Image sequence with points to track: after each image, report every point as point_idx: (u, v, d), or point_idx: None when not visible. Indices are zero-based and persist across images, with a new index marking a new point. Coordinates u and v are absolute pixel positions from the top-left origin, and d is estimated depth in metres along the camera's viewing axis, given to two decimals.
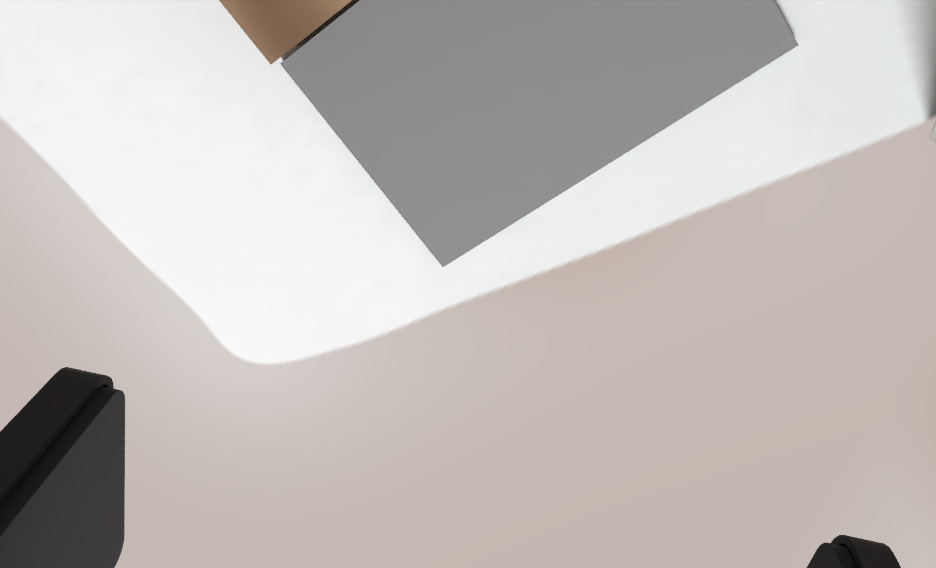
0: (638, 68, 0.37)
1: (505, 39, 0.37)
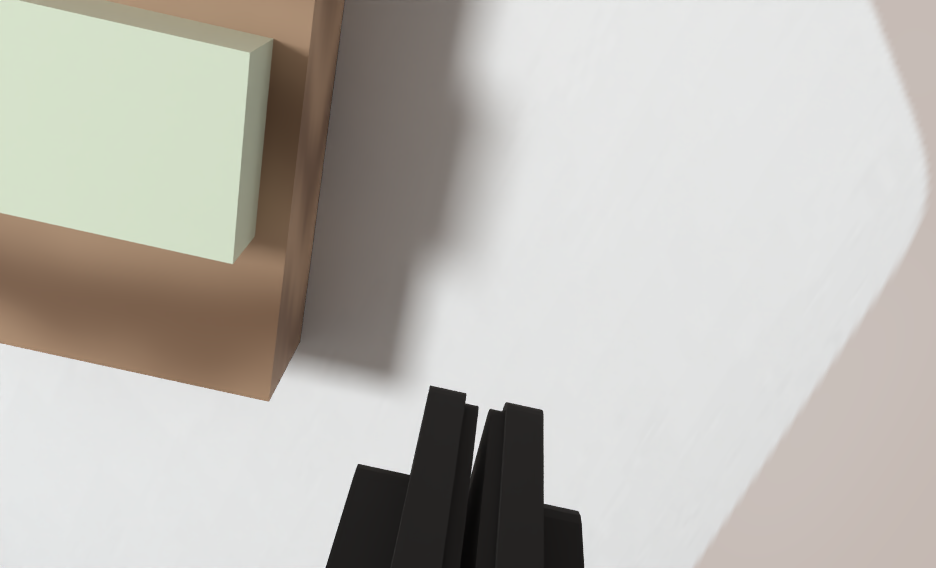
0: None
1: None
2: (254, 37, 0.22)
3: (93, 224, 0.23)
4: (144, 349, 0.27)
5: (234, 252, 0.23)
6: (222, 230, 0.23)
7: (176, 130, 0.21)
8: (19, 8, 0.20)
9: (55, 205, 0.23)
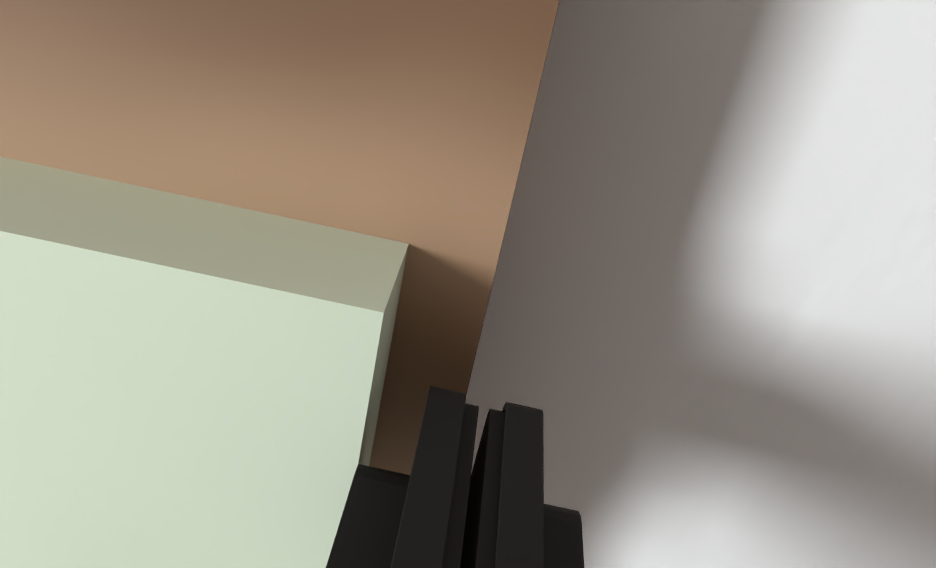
0: None
1: None
2: (375, 247, 0.11)
3: None
4: None
5: None
6: None
7: (227, 438, 0.11)
8: None
9: (1, 546, 0.12)
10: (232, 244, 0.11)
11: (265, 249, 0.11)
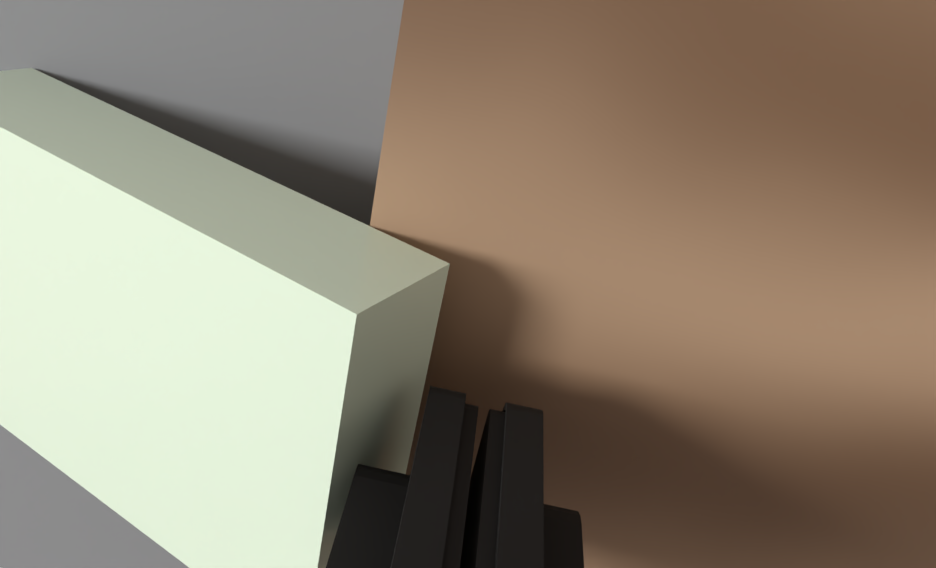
0: None
1: None
2: (410, 259, 0.11)
3: (123, 506, 0.14)
4: None
5: None
6: None
7: (232, 410, 0.11)
8: (38, 159, 0.12)
9: (82, 460, 0.14)
10: (272, 225, 0.11)
11: (298, 236, 0.11)
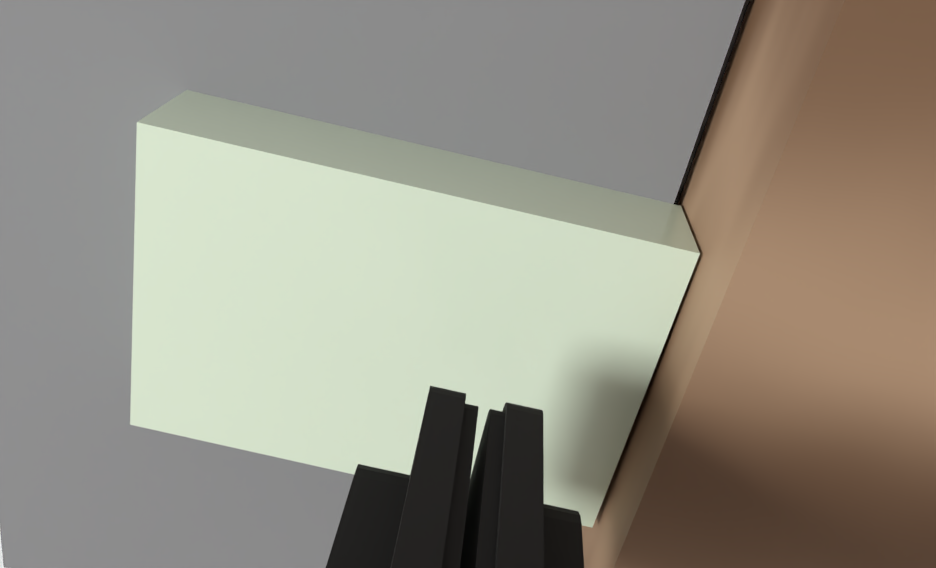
0: (129, 393, 0.18)
1: None
2: (660, 207, 0.14)
3: None
4: None
5: (596, 511, 0.16)
6: (588, 486, 0.15)
7: (550, 354, 0.14)
8: (335, 180, 0.13)
9: (338, 445, 0.15)
10: (565, 201, 0.14)
11: (589, 206, 0.14)
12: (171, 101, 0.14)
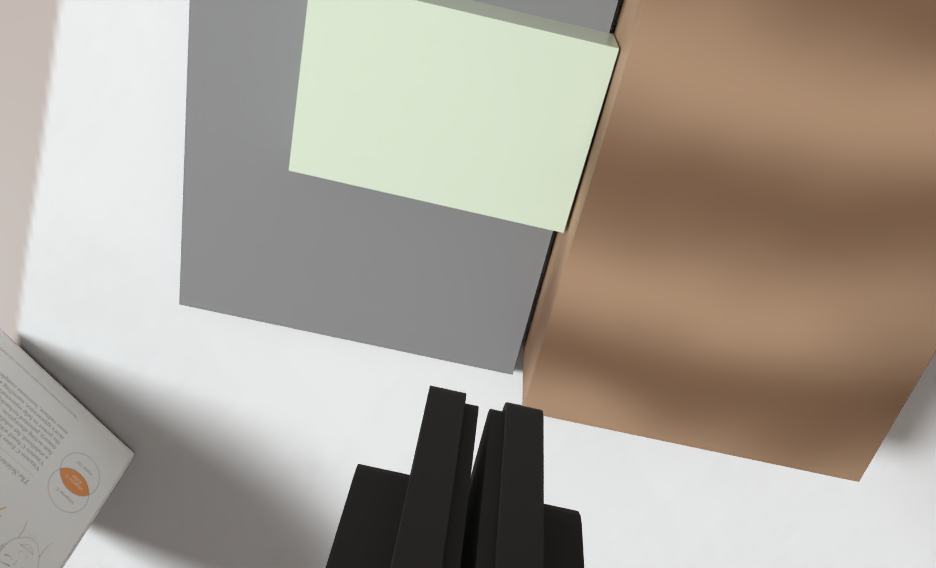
0: (275, 169, 0.28)
1: None
2: (600, 33, 0.25)
3: (444, 197, 0.26)
4: (749, 434, 0.28)
5: (565, 222, 0.26)
6: (560, 203, 0.26)
7: (537, 115, 0.24)
8: (418, 8, 0.23)
9: (412, 180, 0.26)
10: (545, 25, 0.24)
11: (559, 27, 0.24)
12: None
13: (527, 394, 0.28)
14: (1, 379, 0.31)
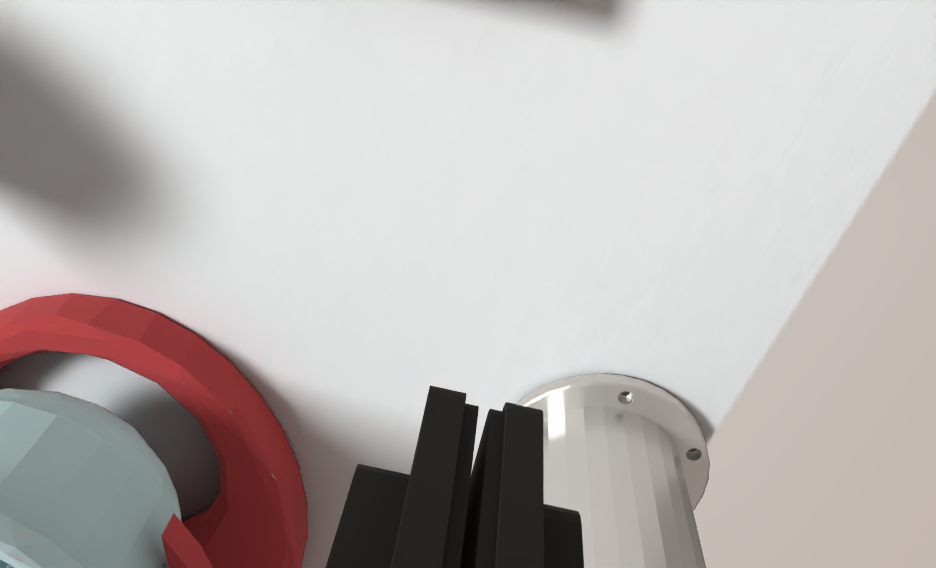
0: None
1: None
2: None
3: None
4: None
5: None
6: None
7: None
8: None
9: None
10: None
11: None
12: None
13: None
14: None
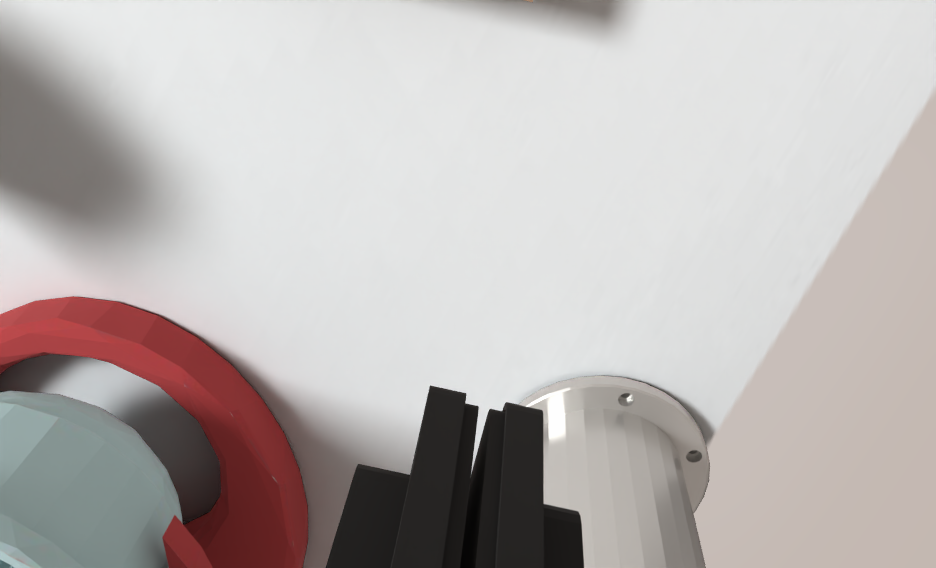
0: None
1: None
2: None
3: None
4: None
5: None
6: None
7: None
8: None
9: None
10: None
11: None
12: None
13: None
14: None
